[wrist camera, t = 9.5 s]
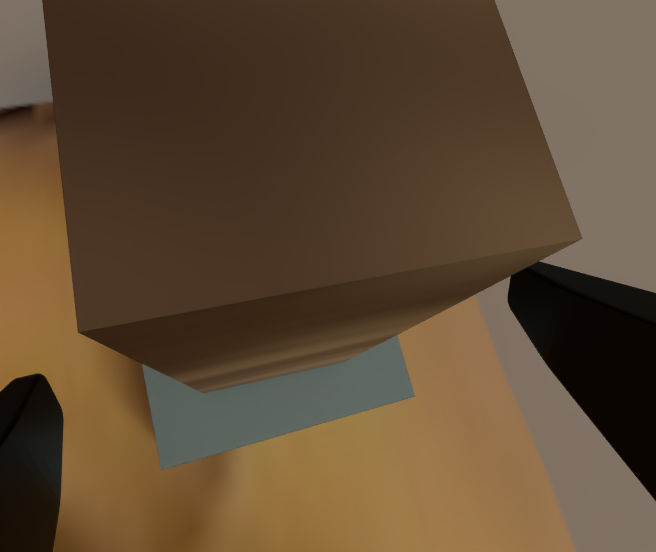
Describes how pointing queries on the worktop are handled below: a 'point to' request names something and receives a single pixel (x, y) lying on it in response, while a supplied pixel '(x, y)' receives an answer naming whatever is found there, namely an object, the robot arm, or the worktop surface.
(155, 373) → the base block
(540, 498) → the worktop surface
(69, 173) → the walnut pillar
